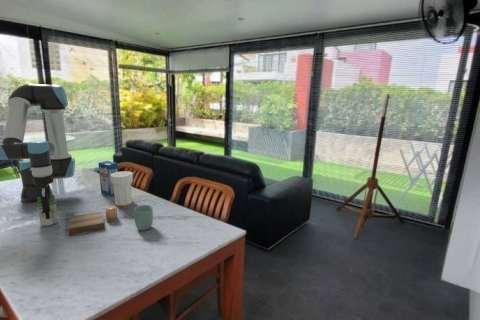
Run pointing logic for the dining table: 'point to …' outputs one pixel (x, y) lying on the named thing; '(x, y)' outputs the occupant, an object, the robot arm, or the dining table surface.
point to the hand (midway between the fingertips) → (49, 222)
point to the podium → (85, 223)
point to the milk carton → (107, 177)
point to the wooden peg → (111, 213)
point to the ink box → (52, 208)
